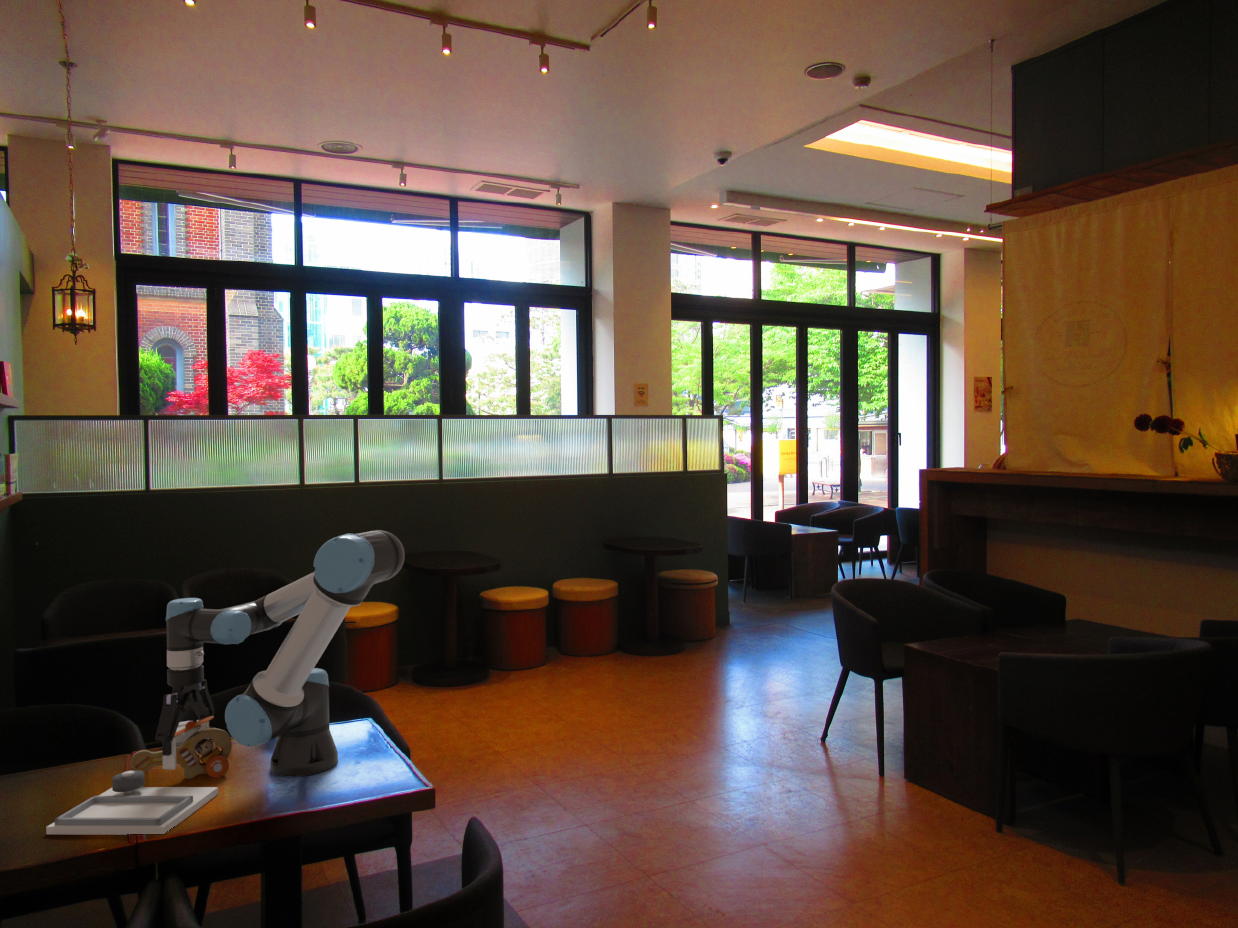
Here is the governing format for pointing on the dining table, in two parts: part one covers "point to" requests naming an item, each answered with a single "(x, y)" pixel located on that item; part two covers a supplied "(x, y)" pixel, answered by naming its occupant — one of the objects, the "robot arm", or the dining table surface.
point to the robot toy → (181, 737)
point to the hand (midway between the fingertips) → (186, 757)
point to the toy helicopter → (193, 752)
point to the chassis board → (132, 811)
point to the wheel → (128, 781)
